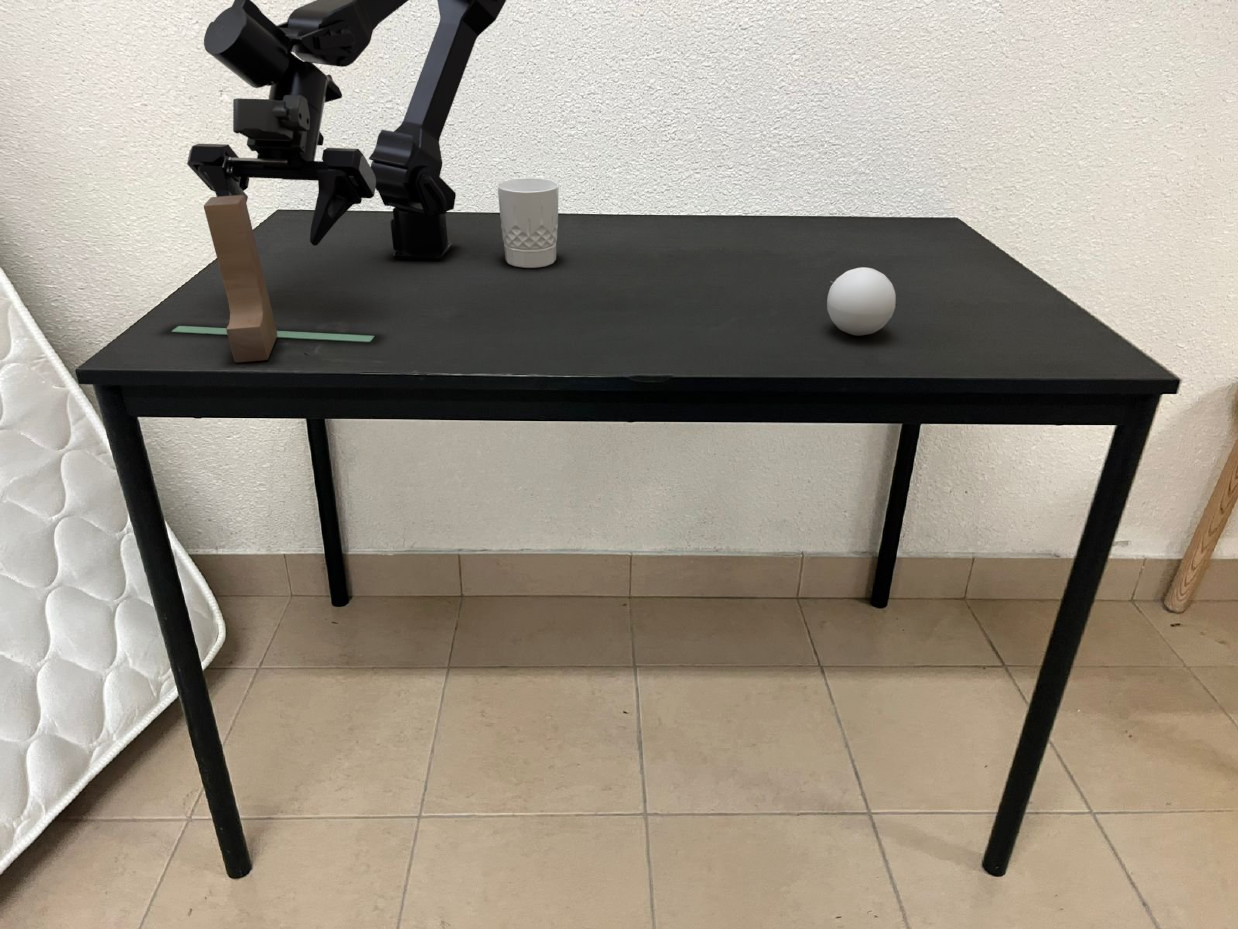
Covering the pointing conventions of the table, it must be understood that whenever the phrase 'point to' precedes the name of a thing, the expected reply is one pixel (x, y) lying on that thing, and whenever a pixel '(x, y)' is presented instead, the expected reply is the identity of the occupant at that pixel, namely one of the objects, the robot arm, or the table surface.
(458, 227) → the table surface
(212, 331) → the tape strip
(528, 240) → the white cup
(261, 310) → the wooden block
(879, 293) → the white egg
